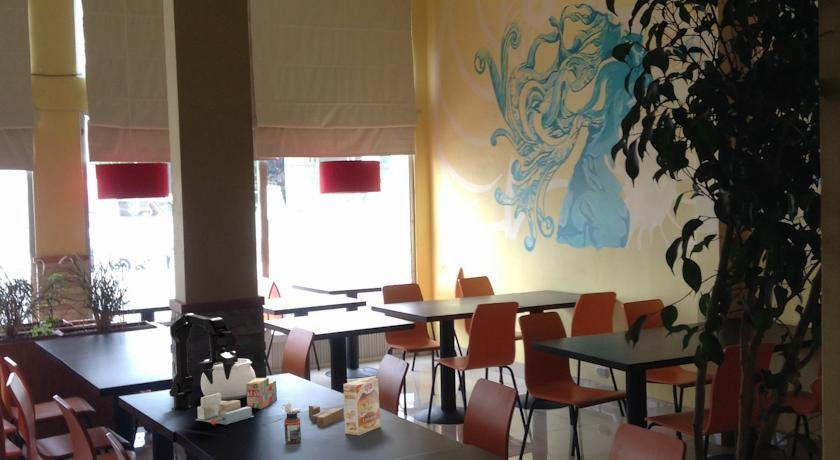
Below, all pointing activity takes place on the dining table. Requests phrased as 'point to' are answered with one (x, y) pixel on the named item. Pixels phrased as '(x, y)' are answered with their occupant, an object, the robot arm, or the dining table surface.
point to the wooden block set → (325, 415)
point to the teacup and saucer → (289, 408)
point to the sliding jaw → (209, 406)
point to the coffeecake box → (361, 406)
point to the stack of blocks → (261, 392)
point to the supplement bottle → (292, 428)
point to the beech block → (228, 407)
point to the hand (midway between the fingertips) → (219, 381)
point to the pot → (229, 380)
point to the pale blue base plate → (231, 416)
